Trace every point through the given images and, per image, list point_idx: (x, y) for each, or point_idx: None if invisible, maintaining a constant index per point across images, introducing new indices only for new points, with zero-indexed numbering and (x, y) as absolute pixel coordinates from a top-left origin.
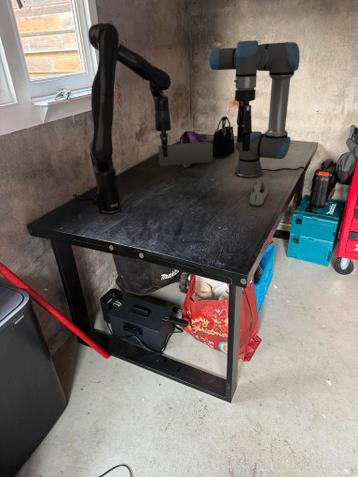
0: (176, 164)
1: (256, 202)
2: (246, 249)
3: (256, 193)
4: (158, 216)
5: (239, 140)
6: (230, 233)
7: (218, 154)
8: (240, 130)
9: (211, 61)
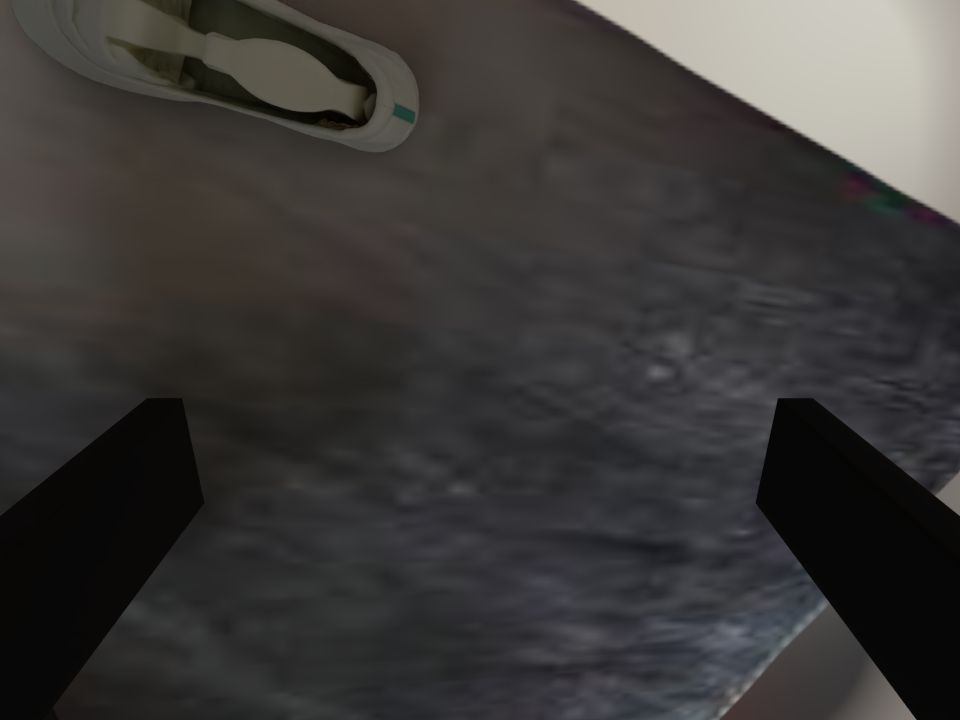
0: (52, 711)
1: (418, 109)
2: (916, 270)
3: (388, 106)
4: (485, 628)
5: (177, 488)
6: (734, 325)
7: None
8: (40, 636)
9: None
